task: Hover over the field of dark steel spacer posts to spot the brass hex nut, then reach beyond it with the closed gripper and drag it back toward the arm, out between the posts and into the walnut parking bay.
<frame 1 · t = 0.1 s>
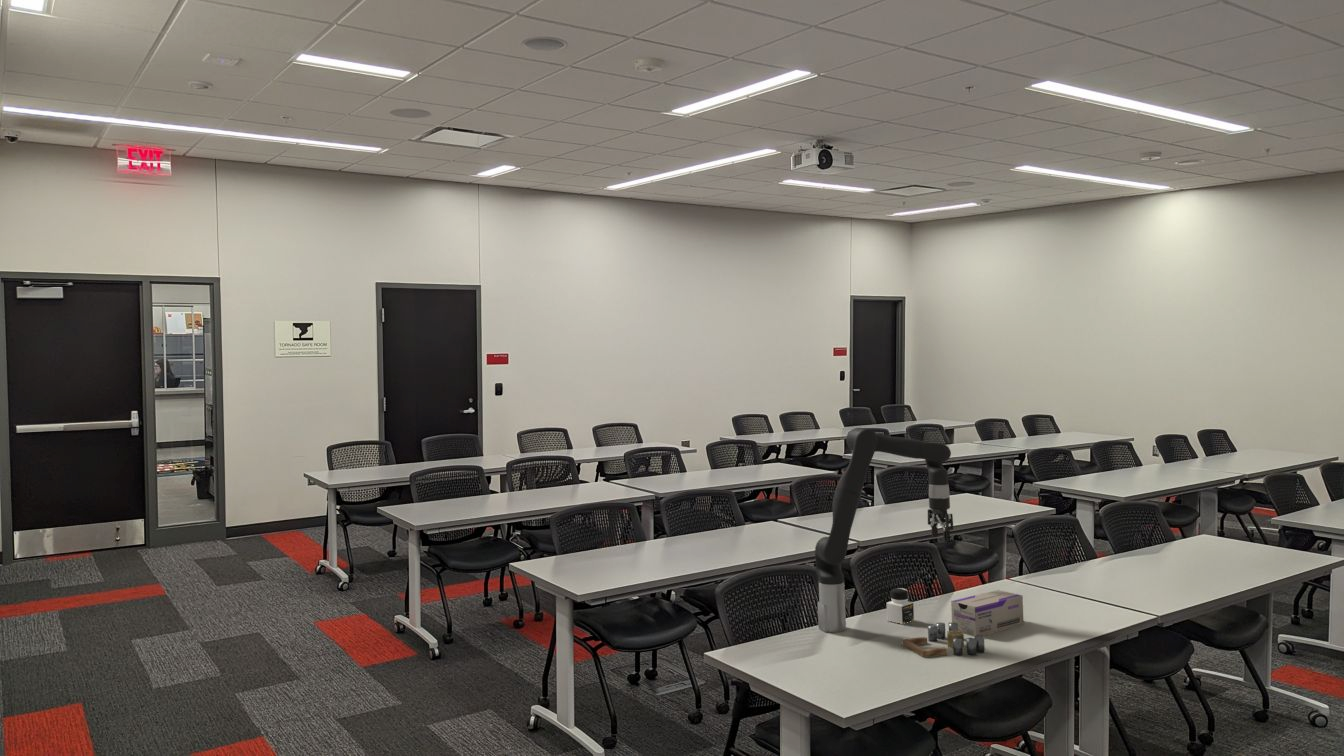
hand: (940, 538, 333), 29 cm above the table, fingers open, 8 cm apart
surgical sutures box: (988, 628, 317), on the table
walnut bay: (926, 649, 295), on the table
brass nut: (955, 646, 297), on the table
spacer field: (955, 645, 297), on the table
medicine bottle: (900, 621, 329), on the table
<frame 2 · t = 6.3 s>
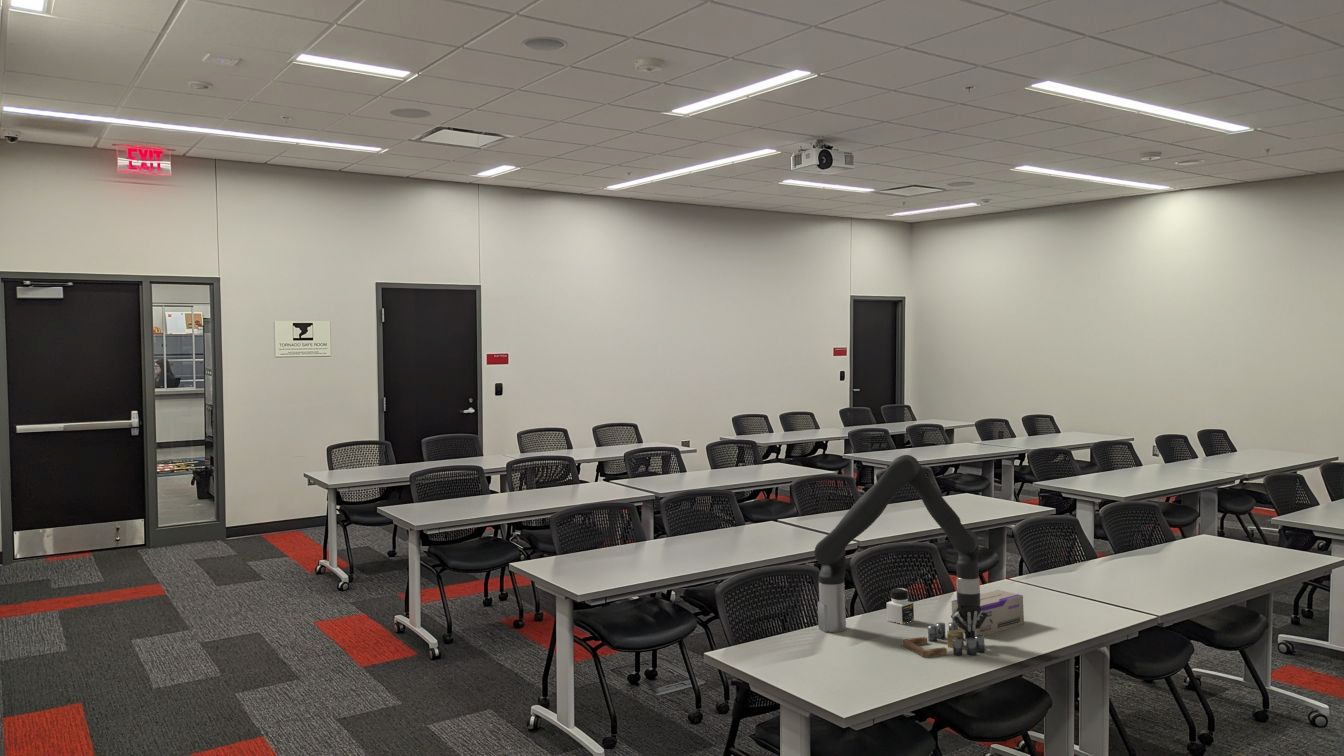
hand: (970, 641, 299), 1 cm above the table, fingers closed
brass nut: (955, 646, 297), on the table, touching gripper
everything else where it was.
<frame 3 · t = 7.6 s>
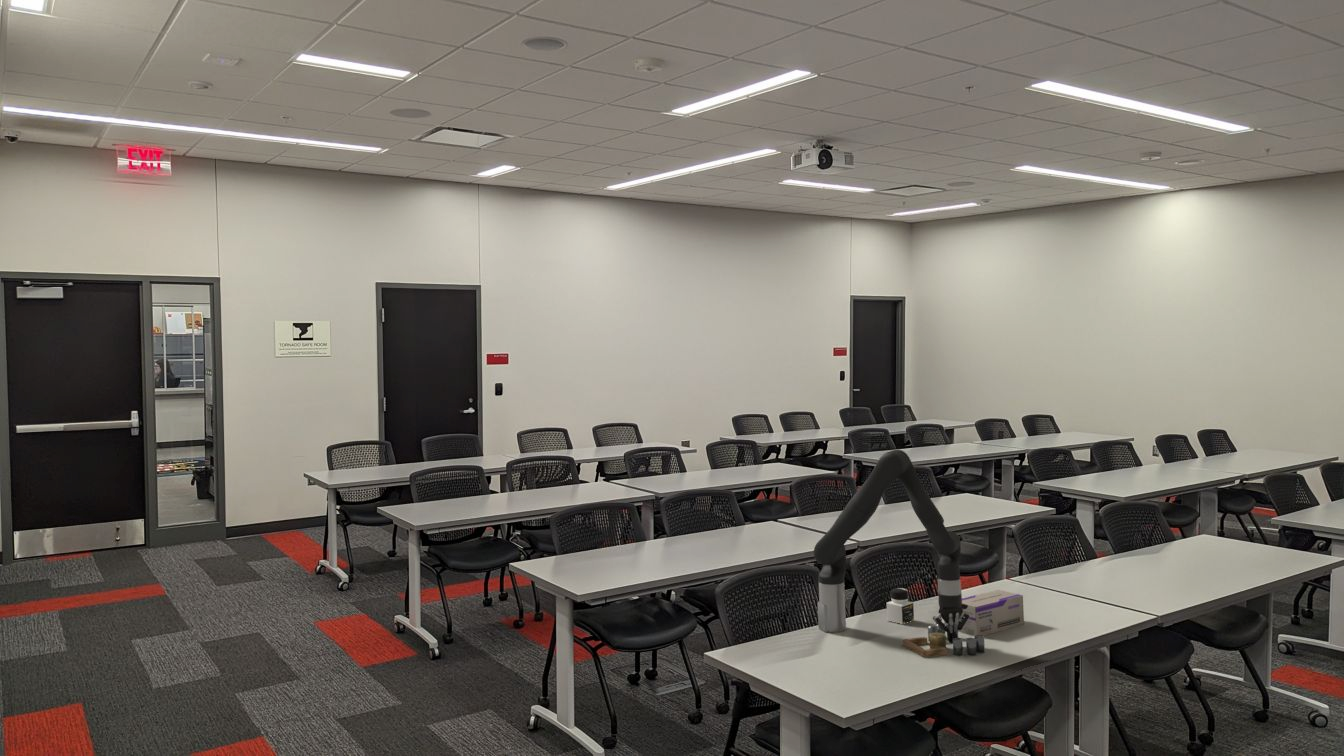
hand: (952, 643, 297), 1 cm above the table, fingers closed
brass nut: (938, 648, 296), on the table, touching gripper
everything else where it was.
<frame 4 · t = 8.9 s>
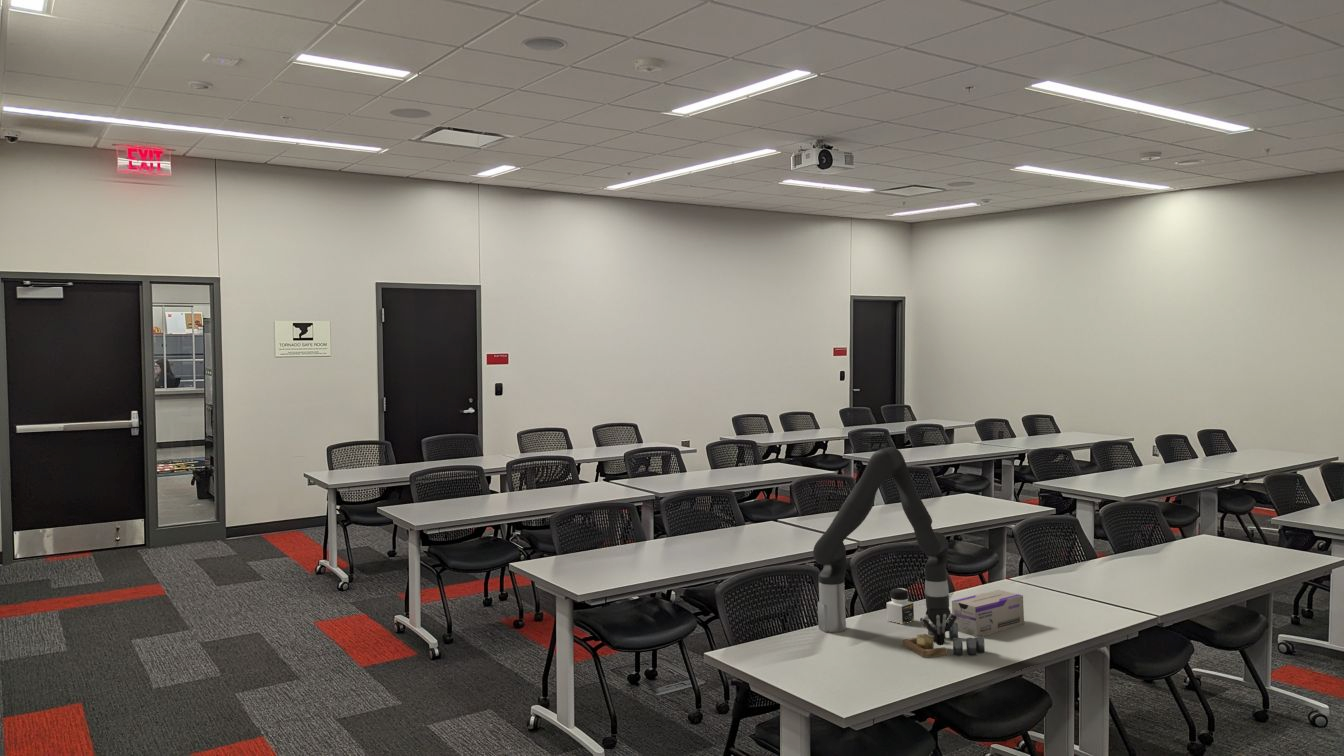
hand: (939, 644, 296), 1 cm above the table, fingers closed
brass nut: (925, 650, 294), on the table, touching gripper, walnut bay
everything else where it was.
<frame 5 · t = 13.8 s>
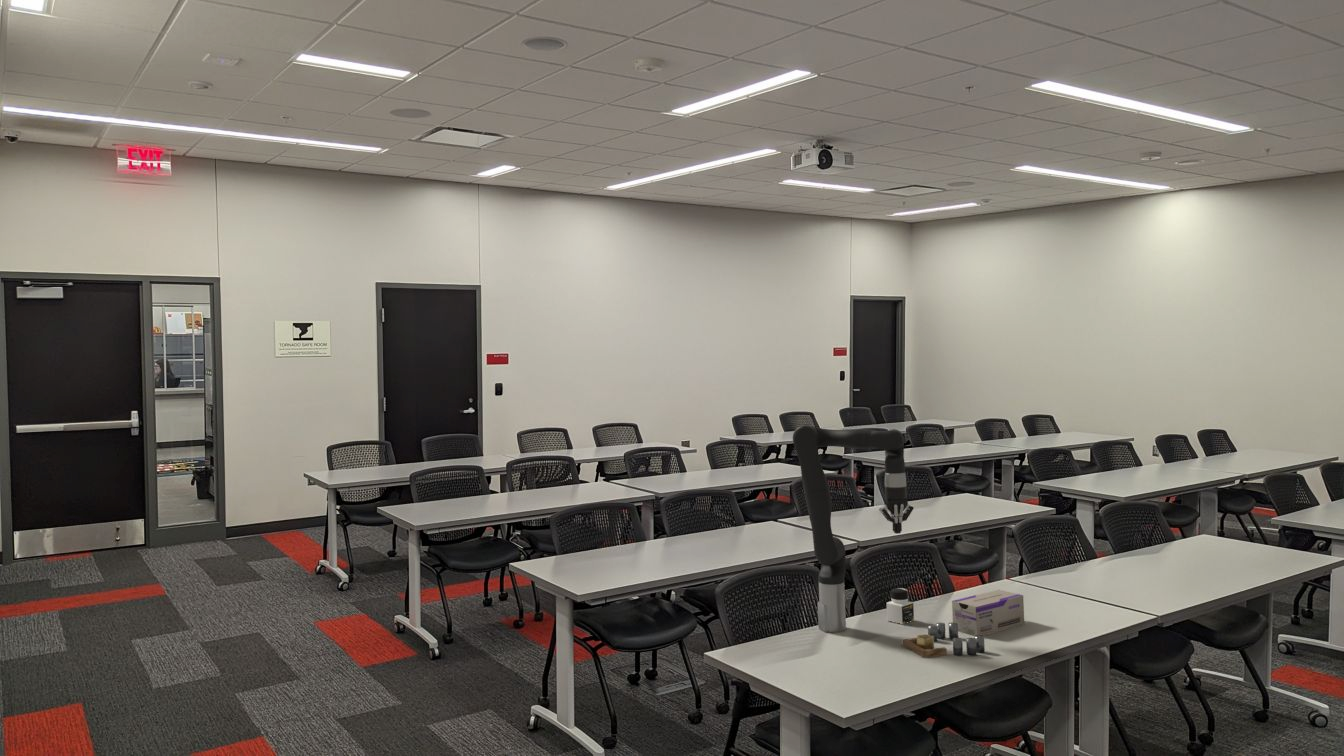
hand: (897, 533, 318), 35 cm above the table, fingers closed
brass nut: (925, 650, 294), on the table
everything else where it was.
at the end: brass nut inside the target area (0.9 cm from its centre), on the table; brass nut touching table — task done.
